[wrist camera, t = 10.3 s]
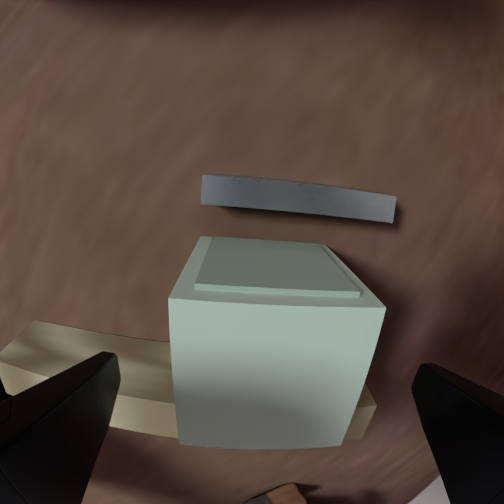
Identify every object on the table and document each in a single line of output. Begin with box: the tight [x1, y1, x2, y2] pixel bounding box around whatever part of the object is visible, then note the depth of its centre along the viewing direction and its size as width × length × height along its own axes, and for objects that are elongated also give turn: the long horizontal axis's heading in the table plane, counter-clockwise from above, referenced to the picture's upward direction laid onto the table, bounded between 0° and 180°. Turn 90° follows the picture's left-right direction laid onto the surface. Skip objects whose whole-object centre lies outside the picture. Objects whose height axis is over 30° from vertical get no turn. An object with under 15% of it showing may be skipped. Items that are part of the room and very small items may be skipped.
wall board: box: [0, 320, 377, 441], centre depth 12 cm, size 16×2×4 cm, turn 85°
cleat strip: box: [201, 174, 397, 223], centre depth 11 cm, size 7×1×2 cm, turn 85°
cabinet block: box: [168, 236, 386, 450], centre depth 10 cm, size 5×5×6 cm
